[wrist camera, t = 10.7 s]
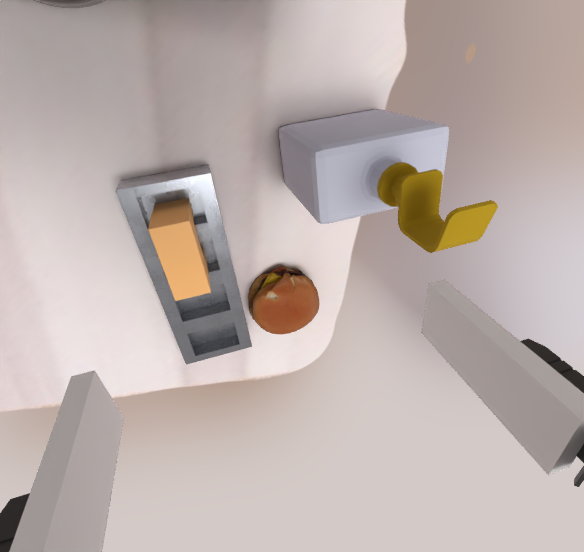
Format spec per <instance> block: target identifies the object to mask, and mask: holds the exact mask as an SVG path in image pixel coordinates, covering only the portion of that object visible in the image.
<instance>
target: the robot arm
mask: <svg viewBox="0 0 584 552" xmlns="http://www.w3.org/2000/svg"><path fill="white" fill-rule="evenodd" d="M35 1H37V2H40V3H44V4H48V5H52V6H57V7H67V8H77V7H86V6H91V5H95V4H98V3H101V2H103V1H105V0H35ZM421 333H422V334H423V335H424V336H425V337H426V338H427V340H428V341H429V342H430V343H431V344H432V345H433V346H434V347H435V349H436V350H437V351H438V352H439V353H440V354H441V355H442V356H443V357H444V358H445V360H446V361H447V362H448V363H449V364H450V365H451V366H452V367H453V369H454V370H455V371H456V372H457V373H458V374H459V375H460V377H461V378H462V379H463V380H464V381H465V382H466V383H467V384H468V385H469V387H470V388H471V389H472V390H473V391H474V392H475V393H476V394H477V396H478V397H479V398H480V399H481V400H482V401H483V402H484V404H485V405H486V406H487V407H488V408H489V409H490V410H491V411H492V412H493V414H494V415H495V416H496V417H497V418H498V419H499V420H500V421H501V422H502V424H503V425H504V426H505V427H506V428H507V429H508V430H509V431H510V433H511V434H512V435H513V436H514V437H515V438H516V439H517V440H518V442H519V443H520V444H521V445H522V446H523V447H524V448H525V450H526V451H527V452H528V453H529V454H530V455H531V456H532V457H533V458H534V460H535V461H536V462H537V463H538V464H539V465H540V466H541V468H542V469H543V470H544V471H545V472H546V473H547V474H548V475H550V474H553V473H555V472H558V471H560V470H563V469H565V468H568V467H570V465H571V464H572V462H573V461H574V459H575V458H576V456H577V457H578V458H579V459H580V460H581V461H582V462H583V463H584V376H583V375H581V374H580V373H579V372H577V371H576V370H573V369H572V367H571V366H570V365H568V364H567V363H566V362H565V361H561V359H560V358H559V357H558V356H557V355H556V354H554V353H553V352H552V351H550V350H549V349H548V348H546V347H545V346H543V345H541V344H538V343H536V342H534V341H532V340H530V339H526V340H523V341H519V340H518V339H517V338H516V337H514V336H513V335H512V334H511V333H510V332H508V331H507V330H506V329H505V328H503V327H502V326H501V325H500V324H498V323H497V322H496V321H495V320H494V319H492V318H491V317H490V316H489V315H488V314H486V313H485V312H484V311H483V310H481V309H480V308H479V307H478V306H477V305H475V304H474V303H473V302H472V301H470V300H469V299H468V298H467V297H466V296H464V295H463V294H462V293H461V292H460V291H458V290H457V289H456V288H455V287H453V286H452V285H451V284H450V283H449V282H447V281H446V280H445V279H444V280H440V281H436V282H432V283H429V284H428V289H427V297H426V303H425V310H424V318H423V324H422V332H421ZM123 421H124V417H123V415H122V414H121V412H120V411H119V409H118V407H117V406H116V404H115V402H114V401H113V399H112V398H111V396H110V394H109V393H108V391H107V390H106V388H105V386H104V385H103V383H102V382H101V380H100V378H99V377H98V375H97V374H96V372H95V371H91V372H87V373H83V374H79V375H76V376H72V377H71V379H70V382H69V385H68V387H67V390H66V393H65V396H64V399H63V402H62V404H61V407H60V410H59V413H58V416H57V418H56V422H55V424H54V427H53V430H52V433H51V435H50V438H49V441H48V444H47V447H46V450H45V452H44V455H43V458H42V461H41V464H40V466H39V469H38V472H37V475H36V478H35V481H34V483H33V486H32V489H31V492H30V493H29V494H26V495H23V496H19V497H16V498H13V499H10V501H9V502H8V503H7V505H6V506H5V508H4V509H3V510H2V512H1V513H0V552H102V548H103V542H104V536H105V530H106V524H107V518H108V512H109V506H110V500H111V494H112V487H113V481H114V475H115V469H116V463H117V457H118V451H119V445H120V439H121V433H122V427H123ZM583 480H584V466H583V467H582V469H581V470H580V472H579V473H578V475H577V476H576V477H575V480H574V485H575V486H577V487H579V486H580V484H581V483H582V482H583Z"/></svg>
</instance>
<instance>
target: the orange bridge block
mask: <svg viewBox="0 0 584 552" xmlns="http://www.w3.org/2000/svg"><path fill="white" fill-rule="evenodd" d="M148 230H149V233H150V235H151V238H152V241H153V243H154V246H155V249H156V251H157V254H158V256H159V259H160V262H161V264H162V267H163V270H164V272H165V275H166V278H167V280H168V283H169V286H170V288H171V291H172V293H173V296H174V299H175V301H178V300H182V299H186V298H190V297H194V296H198V295H203V294H207V293H211V289H210V281H209V273H208V267H207V259H206V255H205V252H204V248H203V247H201V246H200V242H199V239H198V235H197V232H196V229H195V225H194V220H193V210H192V207H191V204H190V200H189V198H186V199H181V200H176V201H171V202H166V203H161V204H155V205H154V209H153V213H152V214H151V219H150V223H149V228H148Z"/></svg>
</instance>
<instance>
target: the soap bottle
mask: <svg viewBox="0 0 584 552" xmlns="http://www.w3.org/2000/svg"><path fill="white" fill-rule="evenodd" d="M448 137H449V128H448V126H446V125H445V124H440V123H436V122H432V121H427V120H423V119H419V118H414V117H410V116H406V115H401V114H397V113H393V112H388V111H384V110H379V109H375V110H369V111H364V112H358V113H352V114H347V115H341V116H335V117H330V118H324V119H318V120H313V121H307V122H301V123H296V124H290V125H285V126H283V127H281V128H279V142H280V149H281V157H282V165H283V172H284V180H285V183H286V185H287V187H288V188H289V189H290V190H291V191H292V193H293V194H294V195H295V196H296V197H297V198H298V200H299V201H300V202H301V203H302V204H303V205H304V206H305V208H306V209H307V210H308V211H309V212H310V213H311V215H312V216H313V217H314V218H315V219H316V220H317V222H319V223H321V224H328V223H332V222H337V221H341V220H345V219H350V218H354V217H358V216H363V215H367V214H371V213H376V212H380V211H384V210H389V209H393V208H397V207H399V210H398V224H399V227H400V230H401V231H402V232H403V233H404V234H405V235H406V236H408V237H409V238H410V239H411V240H413V241H414V242H415V243H417V244H418V245H419V246H421V247H422V248H423V249H425V250H426V251H428V252H430V253H432V252H435V251H440V250H443V249H447V248H451V247H455V246H459V245H463V244H466V243H471V242H474V241H477V240H479V239H480V237H482V235H483V233H484V232H485V230H486V228H487V226H488V224H489V222H490V220H491V219H492V217H493V215H494V213H495V211H496V210H497V204H496V203H495V202H494V201H491V200H490V201H486V202H482V203H478V204H473V205H469V206H465V207H461V208H457V209H455V210H453V211H451V212H450V213H449V214H448V215H447V217H446V220H445V222H444V221H443V220H442V219H441V217H440V215H439V203H440V195H441V191H442V184H443V176H444V168H445V161H446V153H447V145H448Z"/></svg>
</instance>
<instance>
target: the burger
mask: <svg viewBox="0 0 584 552" xmlns="http://www.w3.org/2000/svg"><path fill="white" fill-rule="evenodd" d="M249 302H250V303H249V310H250V314H251V315H252V318H253V319H254V320H255V322H257V324H258V325H259V326H260V327H261V328H263V329H264V330H265V331H267V332H270V333H273V334H287V333H291V332H295V331H297V330H299V329H301V328H303V327H304V326H306V325H307V324H308V323H309V322H311V321H312V319H313V318H314V317H315V315H316V314H317V312H318V309H319V297H318V292H317V289H316V287H315V286H314V284H313V282H312V281H311V280H310V279H309V278H308V277H307V276H305V274H303V273H302V272H301V271H300V270H298V269H296V270H295V271H294V270H292V269H289V268H286V267H279V268H277V269H275V270H273V271H271V272H270V273H268V274H262V275H260V276H259V277H258V278H257V279H256V280H255V281H254V283H253V284H252V286H251V288H250V293H249Z"/></svg>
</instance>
